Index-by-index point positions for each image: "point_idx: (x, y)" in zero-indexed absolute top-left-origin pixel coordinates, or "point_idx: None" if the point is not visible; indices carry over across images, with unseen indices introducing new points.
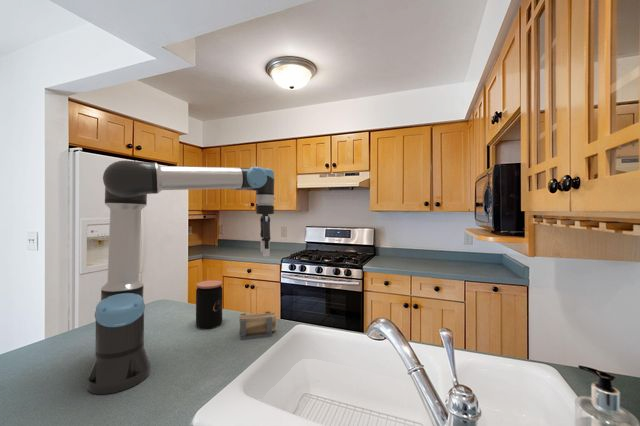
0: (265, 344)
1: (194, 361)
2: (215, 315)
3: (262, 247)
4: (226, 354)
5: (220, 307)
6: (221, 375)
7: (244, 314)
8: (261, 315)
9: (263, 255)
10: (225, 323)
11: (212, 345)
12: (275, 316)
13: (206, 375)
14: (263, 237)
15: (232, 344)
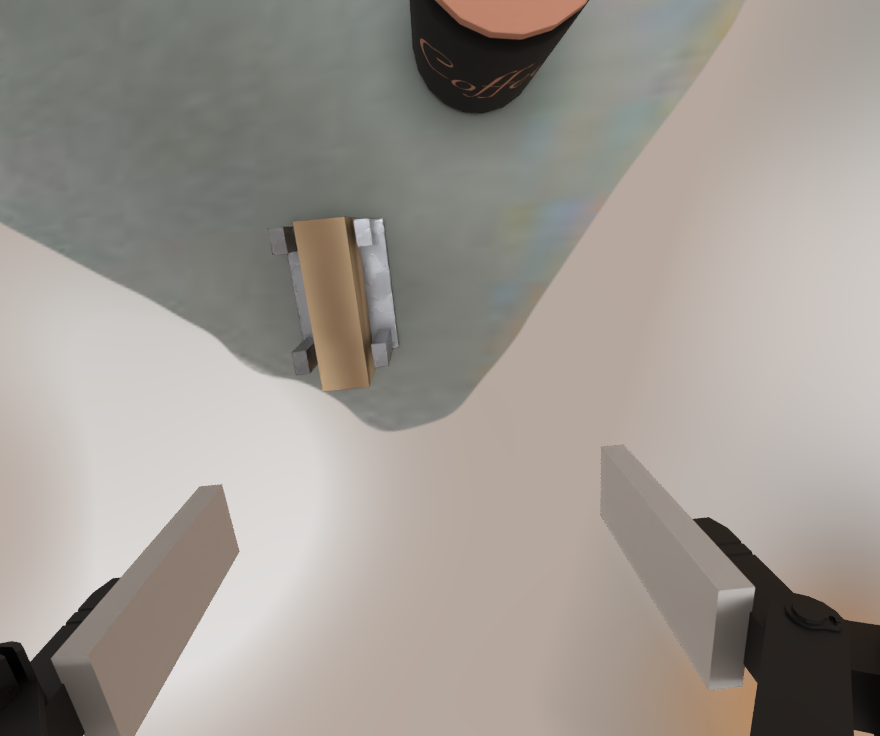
0: (240, 330)
1: (106, 59)
2: (427, 69)
3: (626, 501)
4: (163, 185)
5: (460, 84)
6: (17, 188)
7: (358, 240)
8: (334, 326)
9: (194, 500)
10: (476, 134)
11: (241, 110)
12: (323, 389)
13: (12, 132)
14: (5, 734)
15: (246, 199)
